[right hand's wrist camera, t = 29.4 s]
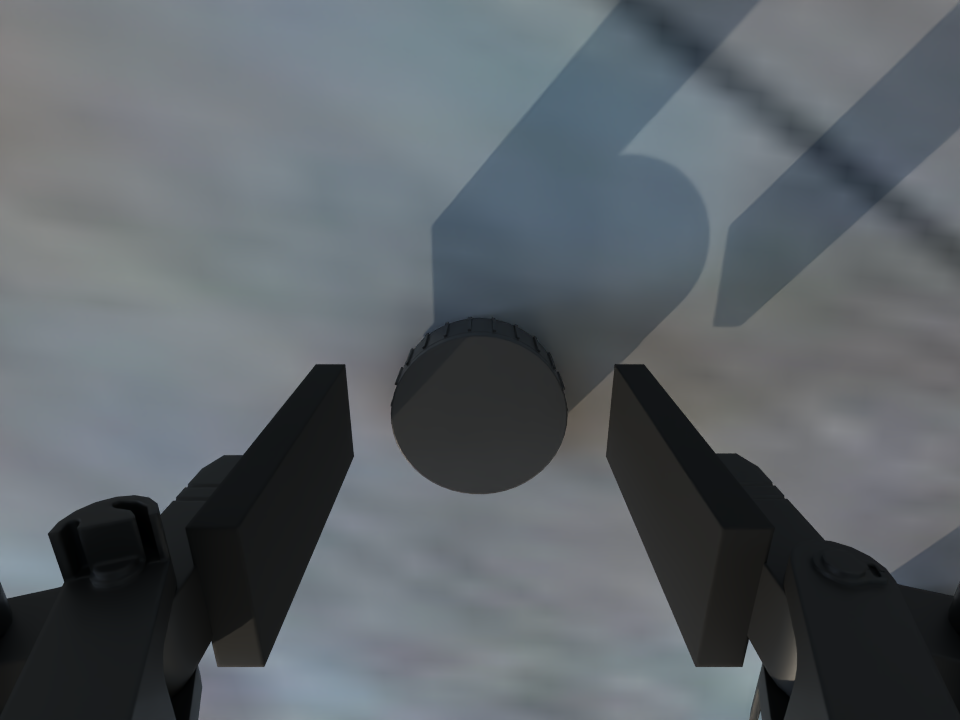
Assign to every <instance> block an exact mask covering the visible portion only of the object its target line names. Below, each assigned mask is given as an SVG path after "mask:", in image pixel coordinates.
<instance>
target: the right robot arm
mask: <svg viewBox="0 0 960 720" xmlns="http://www.w3.org/2000/svg"><path fill="white" fill-rule="evenodd" d="M353 457H354V452H353V442H352V431H351V420H350V410H349V399H348V389H347V378H346V368H345V364H316V365H315V366H314V367H313V369H312V370H311V371H310V372H309V374H308V375H307V376H306V377H305V379H304V380H303V381H302V382H301V384H300V385H299V386H298V387H297V389H296V390H295V391H294V392H293V394H292V395H291V396H290V397H289V399H288V400H287V401H286V402H285V404H284V405H283V406H282V407H281V409H280V410H279V411H278V412H277V414H276V415H275V416H274V417H273V419H272V420H271V421H270V422H269V424H268V425H267V426H266V427H265V429H264V430H263V431H262V432H261V434H260V435H259V436H258V437H257V439H256V440H255V441H254V442H253V444H252V445H251V446H250V447H249V448H248V450H247V451H246V452H245V453H244V455H224V456H222V457H220V458H219V459H217V460H216V461H214V462H212V463H211V464H209V465H207V466H206V467H204V468H202V469H201V470H200V472H199V473H198V474H197V475H196V476H195V477H194V478H193V479H192V480H191V482H190V483H189V484H188V487H185V488H184V489H183V490H182V492H181V493H180V494H179V495H178V496H177V497H176V501H173V502H172V503H171V504H170V505H169V506H168V507H167V508H166V509H165V510H164V512H163V513H162V514H161V515H160V512H159V508H158V504H157V503H156V502H155V501H153V500H152V499H150V498H149V497H142V496H136V495H132V496H121V497H114V498H110V499H106V500H103V501H99V502H95V503H93V504H91V505H88V506H86V507H84V508H81V509H79V510H77V511H75V512H73V513H72V514H70V515H69V516H67V517H65V518H64V519H62V520H61V521H59V522H58V523H57V524H56V525H55V527H54V528H53V529H52V530H51V531H50V532H49V533H48V536H49V539H50V542H51V544H52V547H53V550H54V553H55V556H56V559H57V562H58V565H59V568H60V571H61V573H62V576H63V579H64V584H63V586H62V587H59V588H54V589H50V590H45V591H41V592H36V593H31V594H27V595H22V596H17V597H13V598H8V599H7V598H6V595H5V593H4V590H3V588H2V585H1V583H0V720H198V717H199V709H200V700H201V692H202V682H201V675H200V671H199V667H198V664H199V662H200V660H201V658H202V657H203V655H204V653H205V651H206V650H207V648H208V646H209V644H210V642H211V641H212V645H213V649H214V654H215V658H216V662H217V667H264V666H265V664H266V662H267V659H268V657H269V655H270V652H271V650H272V648H273V645H274V643H275V641H276V638H277V636H278V634H279V631H280V629H281V627H282V624H283V622H284V619H285V617H286V615H287V612H288V610H289V608H290V605H291V603H292V601H293V598H294V596H295V594H296V591H297V589H298V587H299V584H300V582H301V580H302V577H303V575H304V572H305V570H306V568H307V565H308V563H309V561H310V558H311V556H312V554H313V551H314V549H315V547H316V544H317V542H318V540H319V537H320V535H321V533H322V530H323V528H324V525H325V523H326V521H327V518H328V516H329V514H330V511H331V509H332V507H333V504H334V502H335V500H336V497H337V495H338V493H339V490H340V488H341V486H342V483H343V481H344V478H345V476H346V474H347V471H348V469H349V467H350V464H351V462H352V460H353ZM606 457H607V460H608V462H609V464H610V467H611V469H612V471H613V474H614V476H615V478H616V481H617V483H618V486H619V488H620V490H621V493H622V495H623V497H624V500H625V502H626V504H627V507H628V509H629V511H630V514H631V516H632V518H633V521H634V523H635V526H636V528H637V530H638V533H639V535H640V537H641V540H642V542H643V544H644V547H645V549H646V551H647V554H648V556H649V558H650V561H651V563H652V565H653V568H654V570H655V573H656V575H657V577H658V580H659V582H660V584H661V587H662V589H663V591H664V594H665V596H666V598H667V601H668V603H669V605H670V608H671V610H672V612H673V615H674V617H675V620H676V622H677V624H678V627H679V629H680V631H681V634H682V636H683V638H684V641H685V643H686V645H687V648H688V650H689V652H690V655H691V657H692V659H693V662H694V664H695V667H743V662H744V658H745V654H746V649H747V645H748V641H749V640H750V641H751V643H752V645H753V647H754V648H755V650H756V652H757V654H758V656H759V657H760V659H761V661H762V667H761V671H760V675H759V679H758V683H757V687H756V691H755V695H754V699H753V703H752V707H751V713H750V719H749V720H758V718H759V714H760V711H761V715H762V720H960V583H959V585H958V588H957V590H956V593H955V595H954V596H950V595H945V594H940V593H936V592H931V591H926V590H922V589H917V588H912V587H908V586H903V585H899V584H897V583H896V581H895V580H894V578H893V577H892V576H891V574H890V573H889V572H888V571H887V569H886V568H885V567H883V566H882V565H881V564H879V563H878V562H877V561H875V560H874V559H873V558H871V557H870V556H868V555H866V554H864V553H862V552H860V551H858V550H856V549H854V548H852V547H849V546H846V545H842V544H839V543H836V542H832V541H825V540H824V539H823V538H822V537H821V536H820V534H819V533H818V532H817V531H816V530H815V529H814V528H813V527H812V526H811V524H810V523H809V522H808V521H807V520H806V519H805V518H804V517H803V516H802V515H801V513H800V512H799V511H798V510H797V509H796V508H795V507H794V506H793V505H792V504H791V502H790V501H789V500H788V499H785V498H784V495H783V494H782V493H781V491H780V490H779V489H778V488H777V487H776V486H773V485H772V481H771V480H770V479H769V478H768V477H767V476H766V475H765V474H764V473H763V472H762V470H761V469H760V468H759V467H758V466H756V465H754V464H753V463H751V462H749V461H748V460H746V459H744V458H743V457H741V456H739V455H738V454H716V453H715V452H714V451H713V450H712V449H711V447H710V446H709V445H708V444H707V442H706V441H705V440H704V439H703V437H702V436H701V435H700V434H699V432H698V431H697V430H696V429H695V427H694V426H693V425H692V424H691V422H690V421H689V420H688V419H687V417H686V416H685V415H684V414H683V412H682V411H681V410H680V409H679V407H678V406H677V405H676V404H675V402H674V401H673V400H672V399H671V397H670V396H669V395H668V394H667V392H666V391H665V390H664V389H663V387H662V386H661V385H660V384H659V382H658V381H657V380H656V379H655V377H654V376H653V375H652V374H651V372H650V371H649V370H648V369H647V368H646V366H645V365H644V364H615V367H614V378H613V389H612V399H611V410H610V420H609V431H608V441H607V452H606Z"/></svg>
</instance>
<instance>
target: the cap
mask: <svg viewBox="0 0 960 720" xmlns="http://www.w3.org/2000/svg"><path fill="white" fill-rule="evenodd" d="M555 369H556V368H555V365H554V362H553V359H552V357H551V354H550V353H547V352H546V351H545V349H544V348H543V347H542V346H541V345H540V344H539V343H538V341H537V338H536V337H535V336H534V337H532V336H530V335H529V334H528V333H526V332H525V331H523V330H521V329H519V328H518V326H517V325H516V324H515V325H514V326H513V325H511V324H508V323H505V322H501V321H498V320H495V318H492V320H491V319H472V317H469V318H468V319H467V320H461V321H457V322H453V323H450V324H449V322H447V323H446V325H445V326H443V327H441V328H439V329H437V330H435V331H434V332H432V333H431V334H429V333H427V334H426V336H425V338H424V339H423V340H422V341H421V342H420V343H419V344H418V345H417V346H416V347H415V349H411V350H410V353H409V356H408V358H407V361H406V363H405V365H404V368H403V367H401V369H400V372H399V375H398V377H397V380H396V382H395V385H397V387H396V389H395V392H394V396H393V399H392V402H391V424H392V429H393V434H394V437H395V439H396V442H397V445H398V446H399V448H400V450H401V452H402V454H403V455H404V457H405V458H406V460H407V461H408V462H409V463H410V464H411V465H412V467H413V468H414V469H415V470H417V471H418V472H419V473H420V474H421V475H422V476H424V477H425V478H427V479H428V480H430V481H431V482H433V483H435V484H437V485H439V486H441V487H444V488H447V489H450V490H453V491H457V492H461V493H469V494H489V493H497V492H501V491H506V490H509V489H512V488H514V487H517V486H519V485H521V484H523V483H525V482H527V481H528V480H530V479H532V478H533V477H535V476H536V475H537V474H538V473H539V472H541V471H542V470H543V469H544V468H545V467H546V466H547V465H548V464H549V463H550V461H551V460H552V459H553V457H554V456H555V454H556V453H557V451H558V449H559V447H560V445H561V443H562V440H563V438H564V435H565V430H566V426H567V411H568V409H567V404H566V399H565V394H564V392H563V390H565V388H564V385H563V382H562V379H561V377H560V374H559V372H556V370H555Z"/></svg>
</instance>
